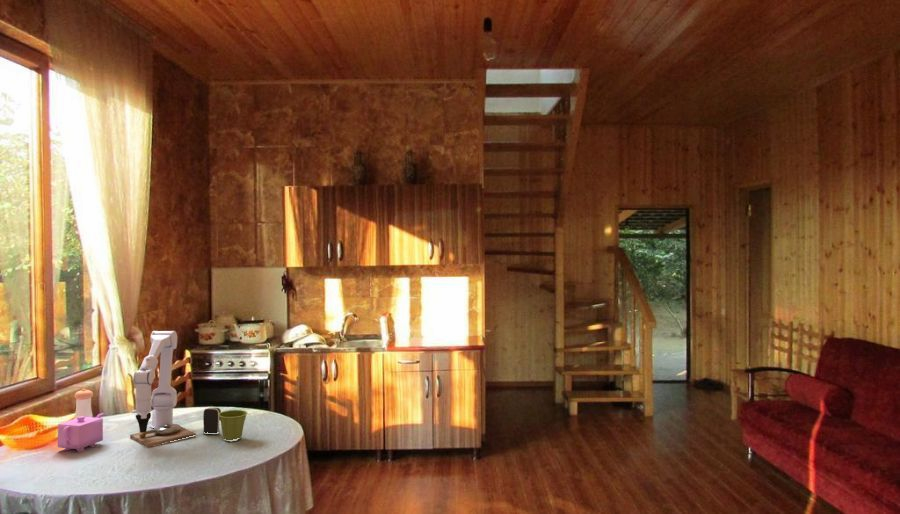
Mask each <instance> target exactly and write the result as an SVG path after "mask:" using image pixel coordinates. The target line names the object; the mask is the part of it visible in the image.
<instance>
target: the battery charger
mask: <svg viewBox="0 0 900 514" xmlns="http://www.w3.org/2000/svg"><path fill="white" fill-rule="evenodd" d="M221 412H222V411H221V408H220V407H207V408H205V409H204V410H203V416H202V417H203V418H202V419H203V420H202V421H203V433H204V432H205V433H207V432H208V433H217V432H219V431H220V417H219V416H218V414H219V413H221Z"/></svg>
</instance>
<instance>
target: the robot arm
mask: <svg viewBox="0 0 900 514" xmlns="http://www.w3.org/2000/svg"><path fill="white" fill-rule="evenodd" d="M150 344H151V347H150V350H149V353H148V355H147V356H145V357H144V358H143V360H142V363H141V365H140V367H139V369H138V370H137V371H134V374H133V376H132V382H133V384H134V385H133V386H134V389H135V409H132V413H133V414H135V419H136V420H137V423H138V429H140V432H146V431H147V428H148V425H149V421H150V418H151V417H152V418H151V420H152V421H151V425H149V428H151V429H153V428H155V427H157V426H160V425H164V424H174V423H173V422H174V421H173V420H174V419H173V417H174V416H173V415H174V414H173V412H174V408H175V407H176V405H178V404H177V402H178V395H177V390H176V389H175V388H174V387H172V386H171V384H172V383H171V382H172V368H173V367H172V366H173V354H174V353H173V352H174V350H176V349H177V347H178V334H177V332H176V330H160V331H159V330H153V331H152V332H151V334H150ZM159 356H160V363H159V359H158V357H159ZM158 364H159V376H158V386H157V388H155V389H153V391H152V384H153V382H154V379H155V373H156V372H155V370H156V368H157V366H158ZM152 408H153V410H152ZM151 412H152V413H151Z"/></svg>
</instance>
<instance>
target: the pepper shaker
mask: <svg viewBox="0 0 900 514" xmlns="http://www.w3.org/2000/svg"><path fill="white" fill-rule="evenodd" d="M93 396H94V393H93V391H92V390H89V389H87V388H82V389H81V390H78V391H76V392H75V393H74V396H73V397H74V399H75V400H76V401H75V403H76V406H75V407H76V408H75V414H74V419H76V418H77V417H79V416H85V417H93V411H92V398H93Z"/></svg>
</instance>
